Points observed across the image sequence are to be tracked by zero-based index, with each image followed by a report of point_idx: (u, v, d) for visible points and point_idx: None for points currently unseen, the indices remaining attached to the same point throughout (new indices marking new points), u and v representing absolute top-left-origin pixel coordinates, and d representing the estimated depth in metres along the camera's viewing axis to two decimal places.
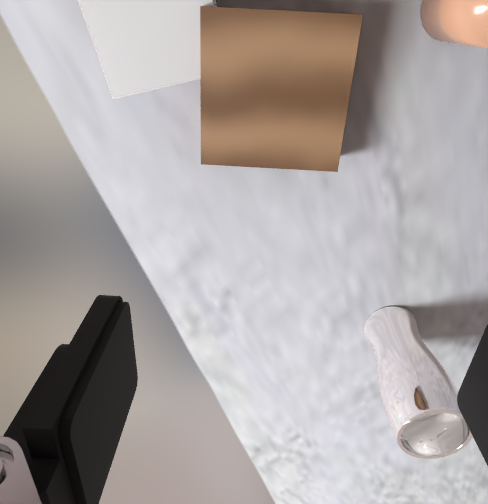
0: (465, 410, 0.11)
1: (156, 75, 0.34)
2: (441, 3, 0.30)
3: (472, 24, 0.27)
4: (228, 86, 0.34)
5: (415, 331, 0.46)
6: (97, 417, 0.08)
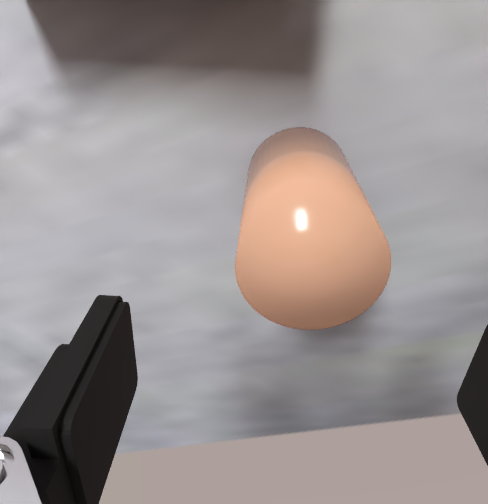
0: (465, 410, 0.11)
1: None
2: (309, 152, 0.17)
3: (279, 211, 0.13)
4: None
5: None
6: (97, 417, 0.08)
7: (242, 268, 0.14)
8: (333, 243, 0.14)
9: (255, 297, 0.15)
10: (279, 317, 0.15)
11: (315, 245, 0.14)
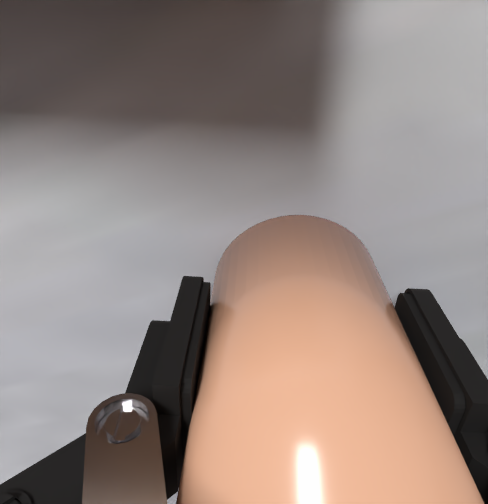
0: None
1: None
2: (319, 300, 0.09)
3: None
4: None
5: None
6: None
7: None
8: None
9: None
10: None
11: None
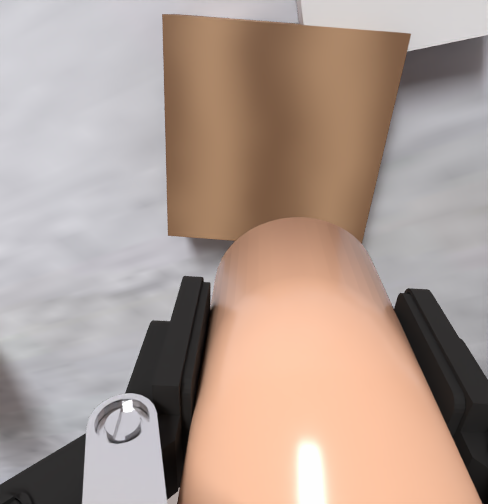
0: None
1: None
2: (320, 302, 0.09)
3: None
4: (292, 74, 0.21)
5: None
6: None
7: None
8: None
9: None
10: None
11: None
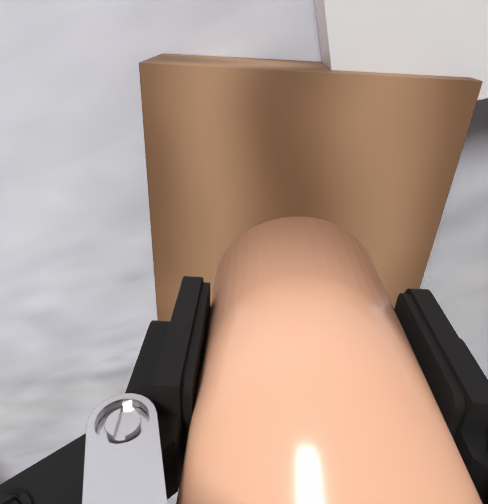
0: None
1: None
2: (319, 301, 0.09)
3: None
4: (316, 136, 0.16)
5: None
6: None
7: None
8: None
9: None
10: None
11: None
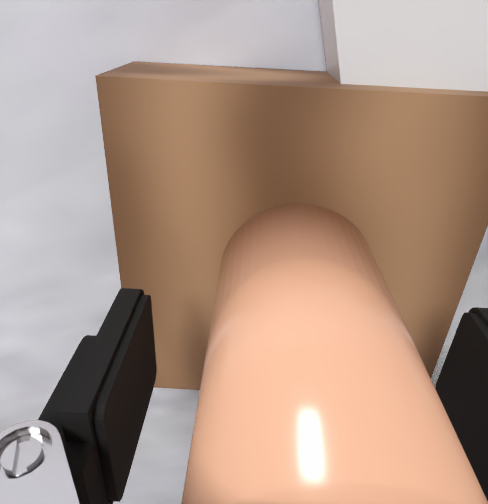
0: (443, 399, 0.11)
1: None
2: (318, 277, 0.09)
3: (262, 500, 0.06)
4: (322, 166, 0.13)
5: None
6: (124, 404, 0.09)
7: None
8: None
9: None
10: None
11: None
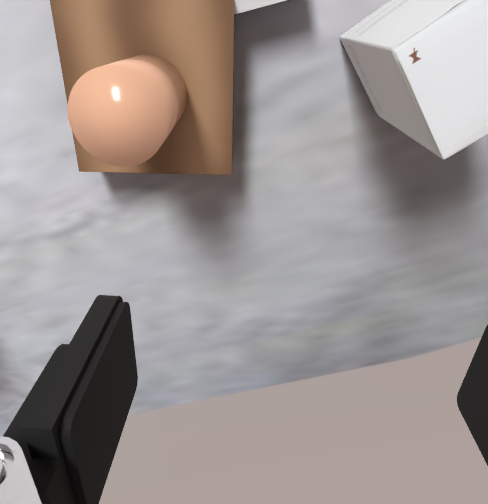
0: (465, 410, 0.11)
1: None
2: (132, 58, 0.25)
3: (86, 76, 0.21)
4: (152, 33, 0.28)
5: None
6: (97, 417, 0.08)
7: (73, 120, 0.22)
8: (125, 97, 0.22)
9: (86, 142, 0.23)
10: (105, 157, 0.23)
11: (114, 99, 0.22)
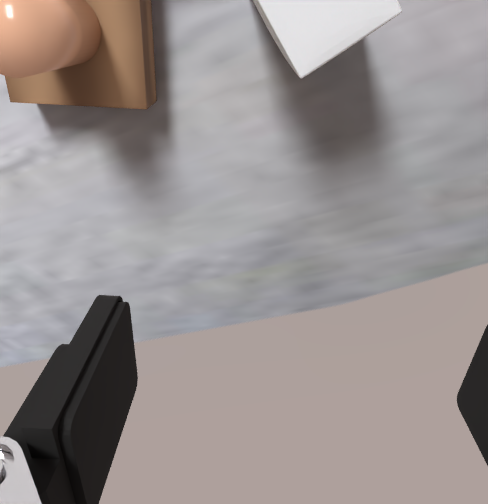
0: (465, 410, 0.11)
1: None
2: None
3: None
4: None
5: None
6: (97, 417, 0.08)
7: None
8: (10, 12, 0.25)
9: None
10: (1, 69, 0.27)
11: (1, 14, 0.25)
